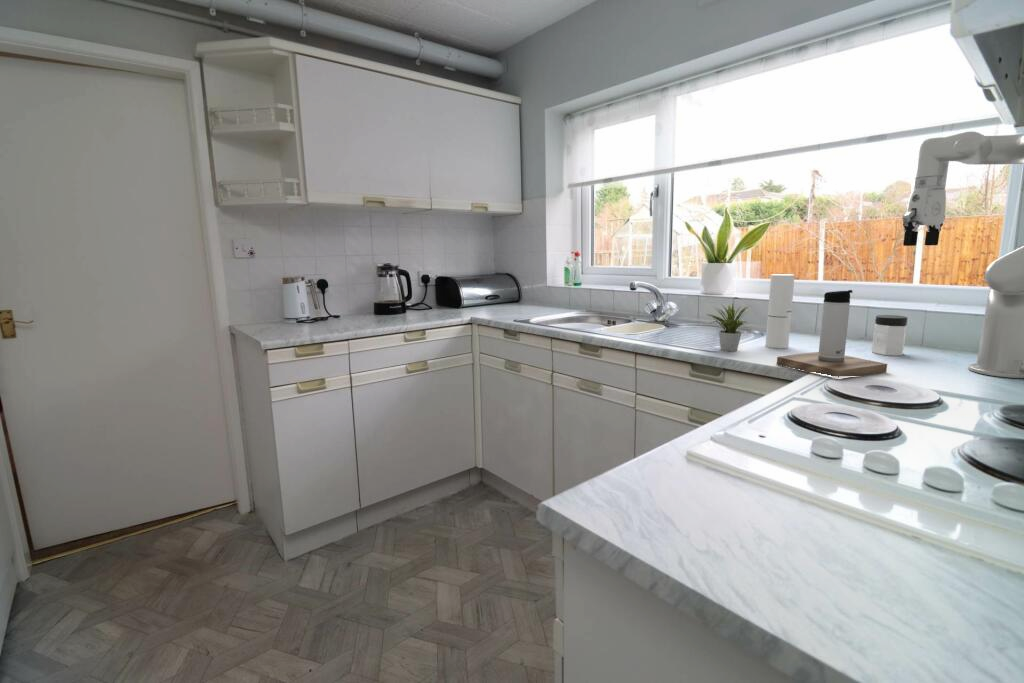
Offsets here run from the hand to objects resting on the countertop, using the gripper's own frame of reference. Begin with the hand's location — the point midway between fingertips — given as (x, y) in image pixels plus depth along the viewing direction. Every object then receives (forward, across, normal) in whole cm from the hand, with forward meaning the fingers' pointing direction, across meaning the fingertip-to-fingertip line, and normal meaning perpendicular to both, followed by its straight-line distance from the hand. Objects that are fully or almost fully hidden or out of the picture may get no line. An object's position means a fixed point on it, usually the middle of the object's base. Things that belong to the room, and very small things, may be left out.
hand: (920, 245), depth 146 cm
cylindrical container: (+34, -16, +32) cm, 50 cm away
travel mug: (+32, -30, +2) cm, 44 cm away
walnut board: (+34, -30, +2) cm, 46 cm away
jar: (+34, +6, +9) cm, 36 cm away
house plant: (+34, -34, +35) cm, 60 cm away
